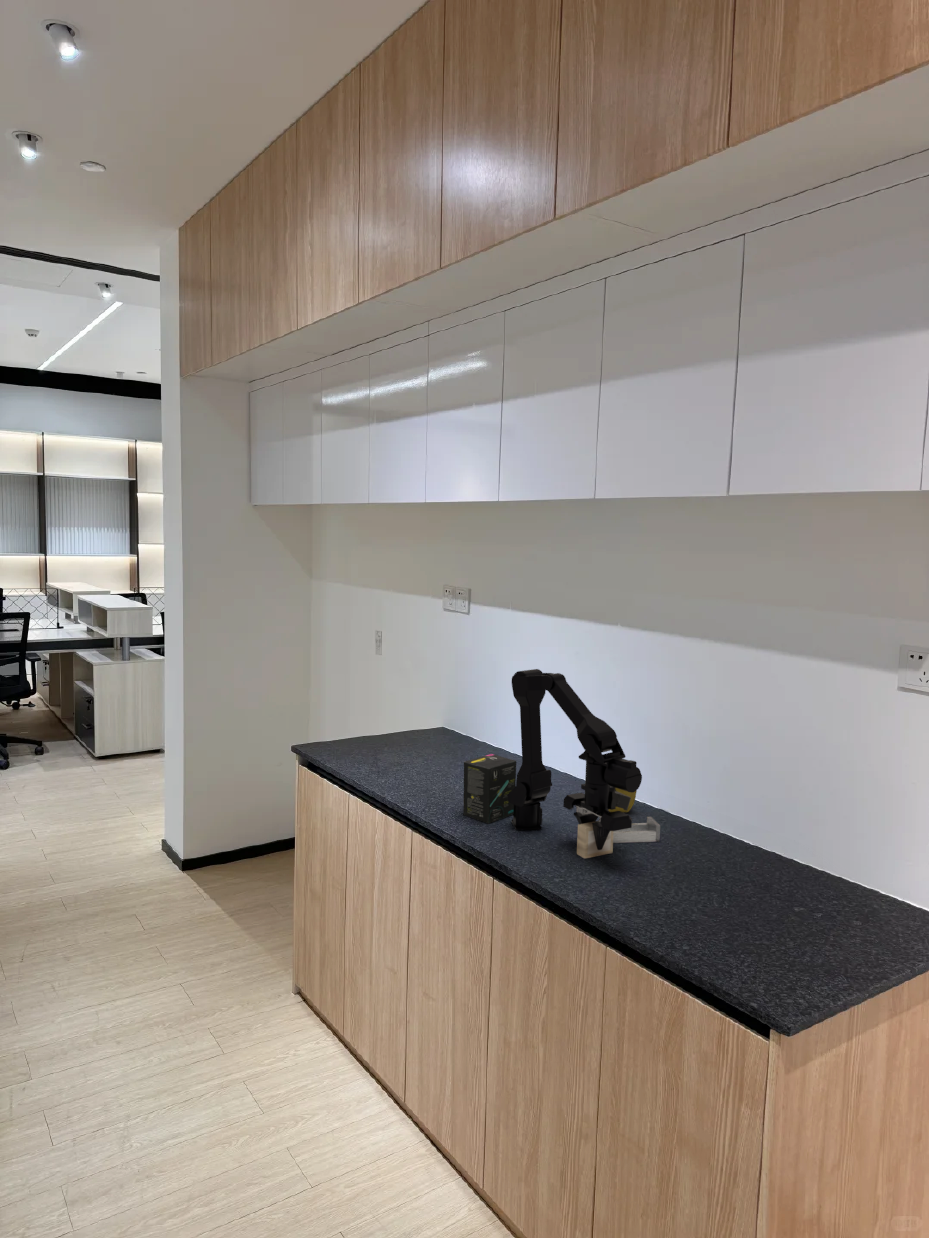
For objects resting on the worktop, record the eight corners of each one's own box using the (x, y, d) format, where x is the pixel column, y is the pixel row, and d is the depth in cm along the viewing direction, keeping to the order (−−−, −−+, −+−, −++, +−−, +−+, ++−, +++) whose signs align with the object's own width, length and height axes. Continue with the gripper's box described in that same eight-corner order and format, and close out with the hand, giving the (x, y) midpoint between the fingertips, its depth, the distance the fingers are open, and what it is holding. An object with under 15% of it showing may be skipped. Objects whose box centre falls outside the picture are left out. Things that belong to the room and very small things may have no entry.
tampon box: (489, 805, 224) (491, 752, 223) (515, 814, 218) (517, 759, 216) (461, 815, 216) (462, 760, 215) (487, 824, 210) (489, 767, 208)
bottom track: (595, 843, 198) (596, 827, 198) (588, 834, 205) (588, 818, 204) (659, 841, 201) (660, 825, 200) (650, 832, 207) (650, 816, 206)
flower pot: (596, 804, 227) (598, 772, 226) (628, 804, 228) (629, 772, 227) (604, 815, 218) (605, 782, 217) (637, 815, 219) (638, 782, 218)
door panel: (584, 858, 189) (586, 828, 188) (576, 853, 192) (577, 824, 191) (612, 852, 193) (614, 823, 192) (604, 848, 196) (605, 819, 195)
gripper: (652, 788, 186) (649, 855, 188) (600, 766, 203) (598, 828, 204) (612, 794, 181) (609, 863, 183) (563, 772, 197) (560, 835, 199)
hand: (595, 846), depth 192 cm, fingers closed on door panel, 3 cm apart
